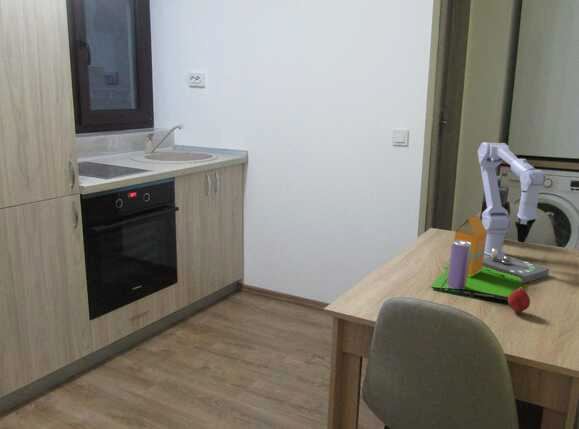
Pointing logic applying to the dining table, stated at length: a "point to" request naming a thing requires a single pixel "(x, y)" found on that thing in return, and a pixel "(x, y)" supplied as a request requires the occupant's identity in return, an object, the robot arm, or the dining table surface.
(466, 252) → the beverage can
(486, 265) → the dial plate
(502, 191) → the toy vending machine
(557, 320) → the dining table surface
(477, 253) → the orange juice
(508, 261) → the dial pointer
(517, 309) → the red round lump
